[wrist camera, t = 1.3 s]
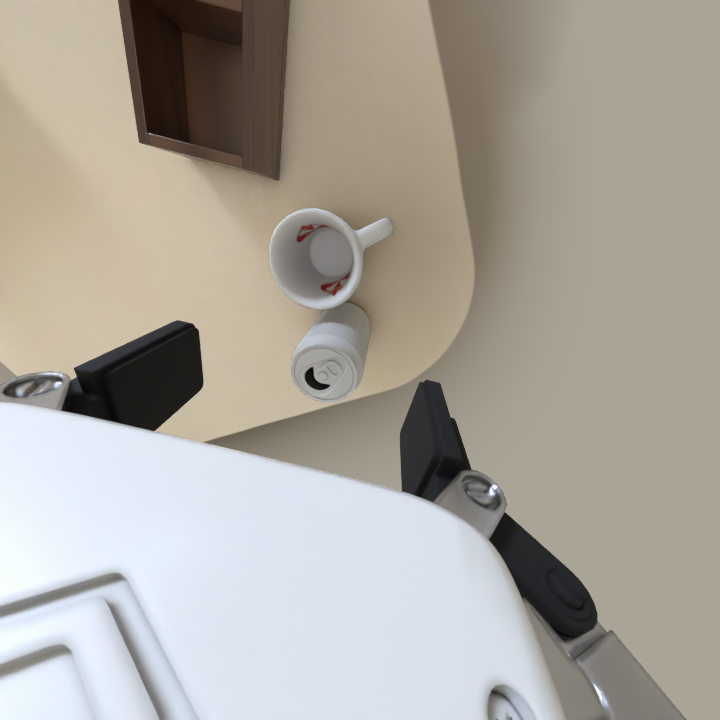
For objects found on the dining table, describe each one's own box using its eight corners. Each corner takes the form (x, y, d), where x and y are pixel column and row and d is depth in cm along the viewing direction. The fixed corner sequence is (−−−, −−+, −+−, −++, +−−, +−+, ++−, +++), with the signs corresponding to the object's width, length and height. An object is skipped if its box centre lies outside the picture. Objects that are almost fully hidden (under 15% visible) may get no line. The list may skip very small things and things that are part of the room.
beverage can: (309, 320, 33) (270, 368, 22) (349, 288, 30) (326, 325, 20) (342, 357, 35) (320, 417, 24) (382, 330, 32) (377, 384, 22)
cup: (376, 180, 25) (370, 165, 18) (405, 261, 28) (410, 275, 21) (283, 233, 28) (248, 237, 21) (319, 300, 31) (298, 323, 24)
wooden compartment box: (297, -129, 18) (259, -270, 13) (278, 180, 26) (251, 171, 21) (163, -165, 18) (69, -322, 12) (188, 157, 26) (138, 142, 21)
